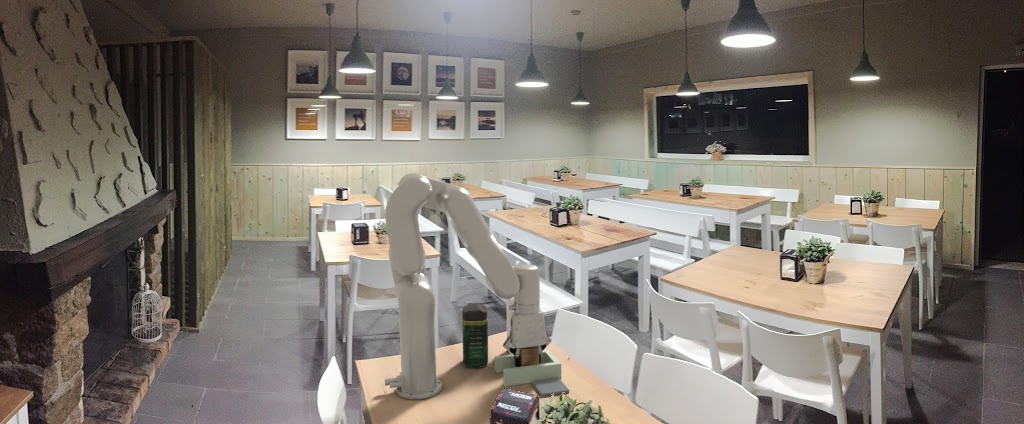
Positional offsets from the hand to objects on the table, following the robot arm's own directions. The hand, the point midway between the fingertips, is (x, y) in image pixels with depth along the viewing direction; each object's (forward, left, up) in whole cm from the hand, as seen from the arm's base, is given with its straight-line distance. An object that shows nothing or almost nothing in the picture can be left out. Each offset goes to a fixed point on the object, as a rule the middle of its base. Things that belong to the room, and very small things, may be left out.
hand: (527, 366), depth 160 cm
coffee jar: (-13, +13, -3) cm, 18 cm away
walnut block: (0, 0, -3) cm, 3 cm away
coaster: (+3, -10, -3) cm, 11 cm away
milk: (+2, +17, -3) cm, 17 cm away
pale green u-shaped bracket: (-1, 0, -3) cm, 3 cm away
